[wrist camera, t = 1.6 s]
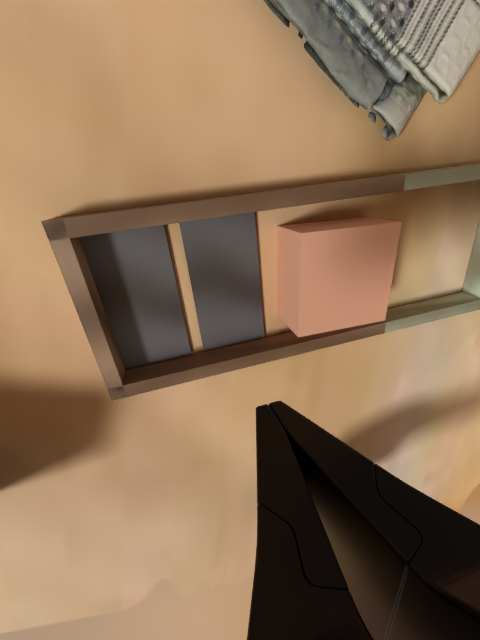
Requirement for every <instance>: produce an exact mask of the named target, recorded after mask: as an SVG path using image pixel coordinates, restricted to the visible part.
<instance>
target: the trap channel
mask: <svg viewBox="0 0 480 640" xmlns="http://www.w3.org/2000/svg"><path fill="white" fill-rule="evenodd" d="M475 180H480V163H476V164H469V165H461V166H453V167H445V168H438V169H430V170H422V171H414V172H407V173H399V174H391V175H383V176H376V177H368V178H360V179H352V180H345V181H337V182H329V183H321V184H313V185H306V186H298V187H290V188H282V189H275V190H267V191H259V192H251V193H244V194H236V195H228V196H220V197H213V198H205V199H197V200H189V201H182V202H174V203H166V204H158V205H151V206H143V207H135V208H127V209H120V210H112V211H104V212H96V213H89V214H81V215H73V216H65V217H58V218H52V219H48V220H45V221H41V222H42V224H43V227H44V229H45V232H46V234H47V237H48V239H49V242H50V244H51V247H52V249H53V252H54V255H55V257H56V260H57V262H58V265H59V267H60V270H61V272H62V275H63V277H64V280H65V282H66V285H67V287H68V290H69V293H70V295H71V298H72V300H73V303H74V305H75V308H76V310H77V313H78V315H79V318H80V320H81V323H82V326H83V328H84V331H85V333H86V336H87V338H88V341H89V343H90V346H91V348H92V351H93V353H94V356H95V358H96V361H97V364H98V366H99V369H100V371H101V374H102V376H103V379H104V381H105V384H106V386H107V389H108V391H109V394H110V396H111V399H112V400H116V399H120V398H124V397H128V396H132V395H137V394H141V393H145V392H149V391H153V390H157V389H161V388H165V387H169V386H173V385H177V384H181V383H185V382H189V381H193V380H197V379H201V378H205V377H209V376H213V375H217V374H221V373H225V372H229V371H233V370H237V369H241V368H245V367H249V366H253V365H257V364H262V363H266V362H270V361H274V360H278V359H282V358H286V357H290V356H294V355H298V354H302V353H306V352H310V351H314V350H318V349H322V348H326V347H330V346H334V345H338V344H342V343H346V342H350V341H354V340H358V339H362V338H366V337H370V336H374V335H378V334H383V333H387V332H391V331H395V330H399V329H403V328H407V327H411V326H415V325H419V324H423V323H427V322H431V321H435V320H439V319H443V318H447V317H451V316H455V315H459V314H463V313H467V312H471V311H475V310H479V309H480V222H479V226H478V230H477V234H476V238H475V242H474V246H473V250H472V254H471V258H470V262H469V266H468V270H467V274H466V278H465V281H464V285H463V289H462V292H460V293H456V294H451V295H447V296H443V297H438V298H434V299H430V300H425V301H421V302H417V303H412V304H408V305H404V306H399V307H395V308H391V309H387V312H386V318H385V321H380V322H375V323H369V324H364V325H359V326H354V327H349V328H344V329H339V330H334V331H328V332H323V333H318V334H313V335H308V336H303V337H297V335H296V334H295V333H294V332H293V331H291V332H286V333H282V334H278V335H273V336H269V337H265V338H261V337H264V324H263V312H262V299H261V286H260V274H259V261H258V248H257V235H256V223H255V212H257V211H264V210H271V209H278V208H285V207H292V206H299V205H306V204H313V203H320V202H328V201H335V200H342V199H349V198H356V197H363V196H370V195H377V194H384V193H391V192H398V191H405V190H412V189H419V188H426V187H433V186H440V185H447V184H454V183H461V182H468V181H475ZM173 223H180V228H181V233H182V238H183V244H184V249H185V254H186V259H187V265H188V270H189V275H190V280H191V286H192V291H193V296H194V301H195V306H196V312H197V317H198V322H199V327H200V333H201V338H202V343H203V348H204V352H200V353H195V354H191V349H190V345H189V340H188V336H187V331H186V326H185V322H184V317H183V312H182V308H181V303H180V298H179V294H178V289H177V284H176V280H175V275H174V270H173V266H172V261H171V256H170V252H169V247H168V243H167V238H166V233H165V229H164V225H166V224H173ZM257 338H260V339H257ZM252 339H256V340H252ZM248 340H252V341H248ZM244 341H247V342H244ZM239 342H243V343H239ZM235 343H239V344H235ZM231 344H234V345H231ZM226 345H230V346H226ZM222 346H226V347H222ZM218 347H221V348H218ZM213 348H217V349H213ZM209 349H213V350H209ZM205 350H208V351H205ZM187 354H191V355H187ZM183 355H187V356H183ZM178 356H182V357H178ZM174 357H178V358H174ZM170 358H174V359H170ZM165 359H169V360H165ZM161 360H165V361H161ZM157 361H161V362H157ZM152 362H156V363H152ZM148 363H152V364H148ZM144 364H148V365H144ZM139 365H143V366H139ZM135 366H139V367H135ZM131 367H135V368H131ZM126 368H130V369H126Z"/></svg>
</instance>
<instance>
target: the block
mask: <svg viewBox="0 0 480 640" xmlns="http://www.w3.org/2000/svg"><path fill="white" fill-rule="evenodd" d="M401 226H402V222H400V221H392V220H385V219H378V218H370V217H357V218H347V219H338V220H328V221H319V222H309V223H300V224H291V225H281V226H277V246H278V317H279V318H280V319H281V320H282V321H283V322H284V323H285V324H286V325H287V326H288V327H289V328H290V329H291V330H292V331H293V332H294V333H295V334H296V335H297V337H303V336H308V335H313V334H318V333H323V332H328V331H334V330H339V329H344V328H349V327H354V326H359V325H364V324H369V323H375V322H380V321H385V318H386V312H387V306H388V301H389V295H390V289H391V284H392V278H393V272H394V266H395V261H396V255H397V249H398V243H399V238H400V232H401Z"/></svg>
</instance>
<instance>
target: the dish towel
mask: <svg viewBox="0 0 480 640" xmlns="http://www.w3.org/2000/svg"><path fill="white" fill-rule="evenodd" d="M264 1H265V3H266V4H267V5H268V6H269V8H270V9H271V10H272V11H273V12H274V14H275V15H276V16H277V17H278V18H279V19H280V20H281V21H282V22H283V23H284V24H285V25H286V26H287V27H289V21H290V22H291V23H292V24H293V25H294V26H295V27H296V28H297V29H298V30H299V34H298V36H299V37H300V38H301V39H302V37H303V35H304V36H305V38H306V40H307V41H306V43H304V48H305V50H306V51H307V52H308V54H309V55H310V56H311V57H312V58H313V59H314V60H315V62H316V63H317V64H318V66H319V67H320V68H321V69H322V70H323V71H324V72H325V73H326V74H327V75H328V76H329V78H330V79H331V80H332V81H333V82H334V83H335V84H336V85H337V86H338V88H339V89H340V90H341V91H342V92H343V93H344V94H345V96H346V97H347V98H348V99H349V100H350V101H351V102H352V103H353V104H354V105H356V106H357V107H359V104H360V105H361V106H362V107H363V108H364V109H372V111H373V112H369V115H368V117H369V118H370V120H371V121H373V122H374V123H375V122H376V116H375V114H377V115H378V116H379V117H380V118H381V119H382V121H383V122H385V123H386V126H385V127H384V128H383V130H382V136H383V137H384V138H385V139H386V140H391V139H392V138H394V137H397V136H398V135H399V134H400V132H401V131H402V130H403V128H404V126H405V124H406V122H407V121H408V119H409V118H410V117H411V115H412V113H413V111H414V110H415V108H416V107H417V106H418V104H419V103H420V101H421V99H422V97H423V96H424V94H425V93H426V91H428V92H430V93H431V94H432V96H433V99H434V100H435V101H436V102H437V103H443V102H445V101H446V100H448V99H449V98H450V97H451V95H452V93H453V92H454V91H455V89H456V87H457V86H458V84H459V83H460V81H461V79H462V78H463V76H464V74H465V73H466V71H467V69H468V68H469V66H470V65H471V63H472V62H473V60H474V58H475V57H476V55H477V53H478V52H479V50H480V0H264Z"/></svg>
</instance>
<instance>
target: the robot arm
mask: <svg viewBox="0 0 480 640" xmlns="http://www.w3.org/2000/svg"><path fill="white" fill-rule="evenodd" d="M256 449H257V504H258V506H257V548H256V561H255V572H254V581H253V590H252V600H251V609H250V617H249V627H248V636H247V640H480V525H479V524H477V523H476V522H474V521H472V520H470V519H468V518H467V517H465V516H463V515H461V514H459V513H458V512H456V511H454V510H452V509H450V508H449V507H447V506H445V505H443V504H441V503H440V502H438V501H436V500H434V499H432V498H431V497H429V496H427V495H425V494H424V493H422V492H420V491H418V490H417V489H415V488H413V487H411V486H410V485H408V484H406V483H405V482H403V481H402V480H400V479H399V478H397V477H395V476H394V475H392V474H391V473H389V472H388V471H386V470H384V469H383V468H381V467H380V466H378V465H377V464H375V465H374V463H373V462H372V461H371V460H369V459H368V458H366V457H365V456H363V455H362V454H360V453H359V452H357V451H356V450H354V449H353V448H351V447H350V446H348V445H347V444H345V443H344V442H342V441H341V440H339V439H338V438H336V437H335V436H333V435H332V434H330V433H329V432H327V431H326V430H324V429H323V428H321V427H319V426H318V425H316V424H315V423H313V422H312V421H310V420H309V419H307V418H306V417H304V416H303V415H301V414H300V413H298V412H297V411H295V410H294V409H292V408H291V407H289V406H288V405H286V404H285V403H283V402H282V401H276V402H273V403H270V404H269V405H267V404H266V405H262V406H258V407H257V408H256Z"/></svg>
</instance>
